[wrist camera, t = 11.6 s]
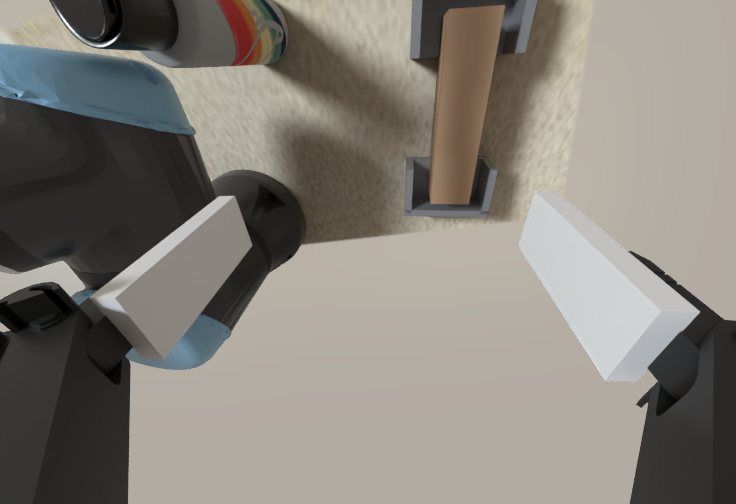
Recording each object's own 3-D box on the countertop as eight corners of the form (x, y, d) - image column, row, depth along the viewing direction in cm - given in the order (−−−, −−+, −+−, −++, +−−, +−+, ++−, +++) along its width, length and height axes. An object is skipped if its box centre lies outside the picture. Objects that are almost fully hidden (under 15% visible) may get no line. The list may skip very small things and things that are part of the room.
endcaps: (405, 199, 37) (404, 215, 33) (412, -17, 25) (413, -30, 21) (478, 200, 36) (487, 217, 32) (524, -27, 24) (547, -43, 20)
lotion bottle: (294, 64, 30) (156, 71, 14) (244, 64, 30) (55, 71, 14) (284, -8, 27) (88, -110, 10) (229, -6, 27) (-40, -100, 11)
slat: (427, 183, 35) (430, 203, 30) (441, 18, 26) (449, 8, 21) (460, 183, 34) (468, 204, 29) (486, 15, 25) (505, 4, 20)
